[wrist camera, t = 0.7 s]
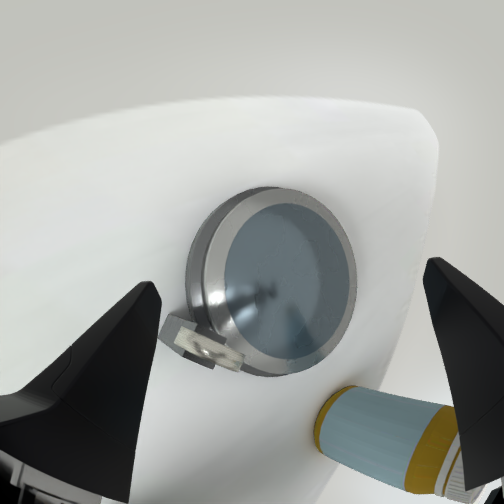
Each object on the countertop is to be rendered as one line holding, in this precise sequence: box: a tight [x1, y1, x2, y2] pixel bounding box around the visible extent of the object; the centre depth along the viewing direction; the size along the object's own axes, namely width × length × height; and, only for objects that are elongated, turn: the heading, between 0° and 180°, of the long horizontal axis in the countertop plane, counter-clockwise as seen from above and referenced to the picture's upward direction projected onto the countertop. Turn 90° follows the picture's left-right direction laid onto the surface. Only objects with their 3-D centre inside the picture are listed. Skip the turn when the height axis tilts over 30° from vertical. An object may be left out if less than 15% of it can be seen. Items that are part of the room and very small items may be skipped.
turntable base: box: [158, 187, 288, 377], centre depth 18 cm, size 13×13×7 cm
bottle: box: [314, 386, 486, 504], centre depth 17 cm, size 7×7×15 cm
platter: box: [201, 188, 357, 374], centre depth 19 cm, size 12×12×1 cm
